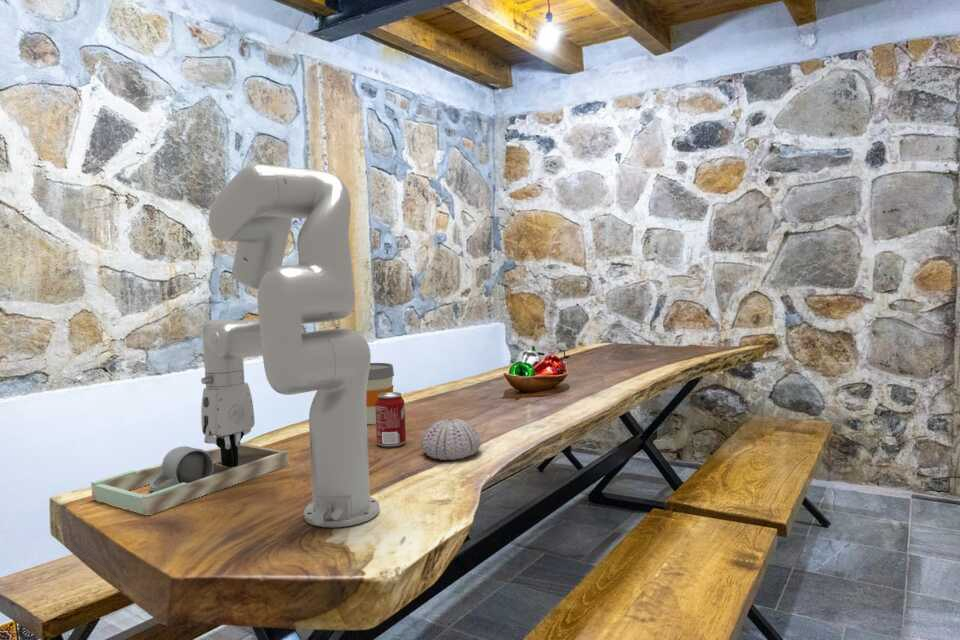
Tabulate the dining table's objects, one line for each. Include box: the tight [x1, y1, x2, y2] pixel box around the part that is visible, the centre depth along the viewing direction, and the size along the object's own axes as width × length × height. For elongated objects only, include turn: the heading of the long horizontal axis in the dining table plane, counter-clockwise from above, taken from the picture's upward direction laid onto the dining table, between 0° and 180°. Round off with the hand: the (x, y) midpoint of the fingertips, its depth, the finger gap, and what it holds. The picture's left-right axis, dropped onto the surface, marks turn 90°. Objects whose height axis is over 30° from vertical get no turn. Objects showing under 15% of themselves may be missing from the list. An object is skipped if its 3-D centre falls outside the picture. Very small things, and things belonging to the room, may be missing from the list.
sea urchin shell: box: [420, 418, 482, 461], centre depth 146 cm, size 13×14×8 cm
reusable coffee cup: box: [366, 362, 395, 425], centre depth 179 cm, size 13×13×15 cm
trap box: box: [91, 442, 290, 515], centre depth 131 cm, size 32×17×3 cm, turn 149°
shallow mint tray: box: [90, 469, 188, 514], centre depth 121 cm, size 8×17×3 cm, turn 59°
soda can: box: [375, 391, 407, 448], centre depth 154 cm, size 7×7×12 cm
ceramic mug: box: [149, 445, 214, 493], centre depth 128 cm, size 11×8×8 cm
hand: (230, 465), depth 138 cm, fingers closed
